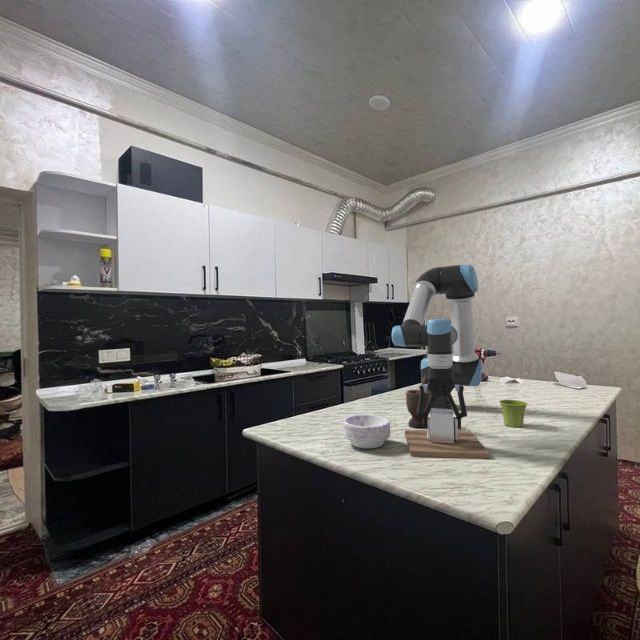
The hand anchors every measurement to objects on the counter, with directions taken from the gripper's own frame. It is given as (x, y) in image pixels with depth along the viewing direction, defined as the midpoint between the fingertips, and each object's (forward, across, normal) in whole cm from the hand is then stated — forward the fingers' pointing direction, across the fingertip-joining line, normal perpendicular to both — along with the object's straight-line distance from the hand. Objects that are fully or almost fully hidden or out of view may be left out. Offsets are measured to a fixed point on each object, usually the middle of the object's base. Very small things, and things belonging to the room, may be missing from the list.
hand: (442, 438), depth 118 cm
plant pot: (+2, +30, +25) cm, 39 cm away
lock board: (+2, 0, 0) cm, 2 cm away
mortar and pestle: (+2, -4, +21) cm, 22 cm away
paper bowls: (+2, -24, -1) cm, 24 cm away
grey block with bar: (0, 0, +2) cm, 2 cm away
